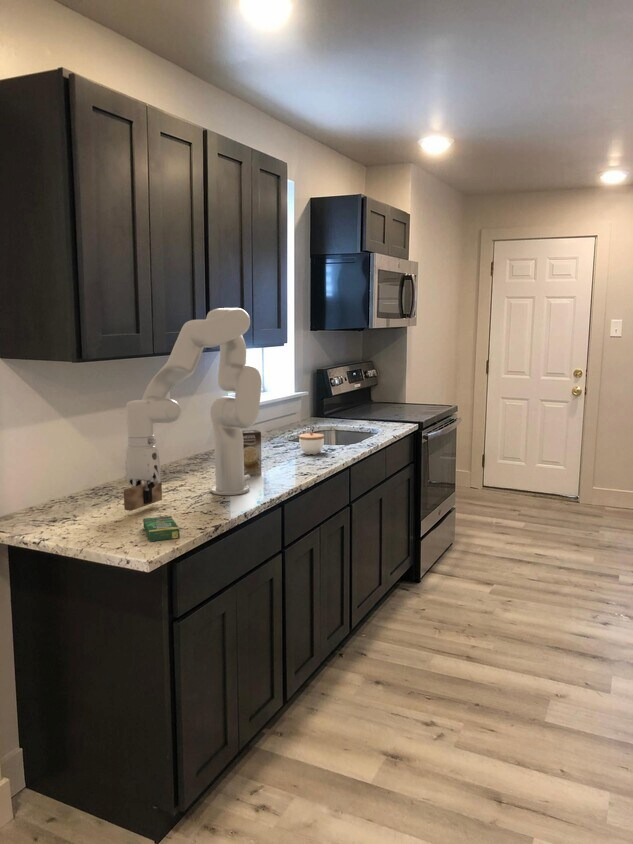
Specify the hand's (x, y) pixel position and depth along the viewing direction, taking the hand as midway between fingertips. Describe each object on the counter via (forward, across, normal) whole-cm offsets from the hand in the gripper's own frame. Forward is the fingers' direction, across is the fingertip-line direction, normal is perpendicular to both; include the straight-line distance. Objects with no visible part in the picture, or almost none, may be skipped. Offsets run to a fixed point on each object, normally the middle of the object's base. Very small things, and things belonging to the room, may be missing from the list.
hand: (143, 501), depth 203 cm
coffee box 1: (+1, -14, +11) cm, 18 cm away
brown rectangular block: (+1, 0, 0) cm, 1 cm away
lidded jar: (+2, -7, -99) cm, 99 cm away
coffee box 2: (+3, -3, -54) cm, 54 cm away
